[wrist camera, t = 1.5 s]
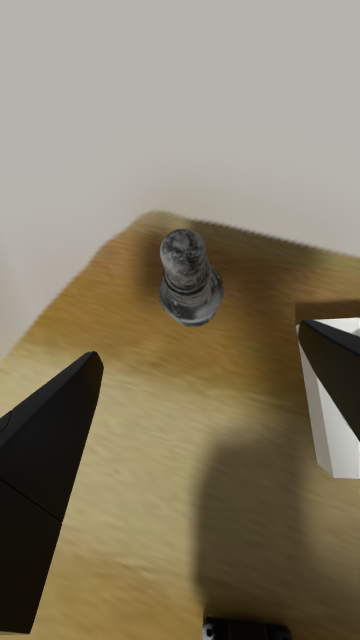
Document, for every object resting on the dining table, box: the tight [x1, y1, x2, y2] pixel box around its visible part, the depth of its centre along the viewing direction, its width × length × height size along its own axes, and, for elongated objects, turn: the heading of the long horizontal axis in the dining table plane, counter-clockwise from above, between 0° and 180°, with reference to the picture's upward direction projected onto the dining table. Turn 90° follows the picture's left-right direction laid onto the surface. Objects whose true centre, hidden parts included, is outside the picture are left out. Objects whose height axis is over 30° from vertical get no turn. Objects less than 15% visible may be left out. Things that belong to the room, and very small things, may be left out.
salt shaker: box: [159, 229, 223, 327], centre depth 17 cm, size 6×6×12 cm
